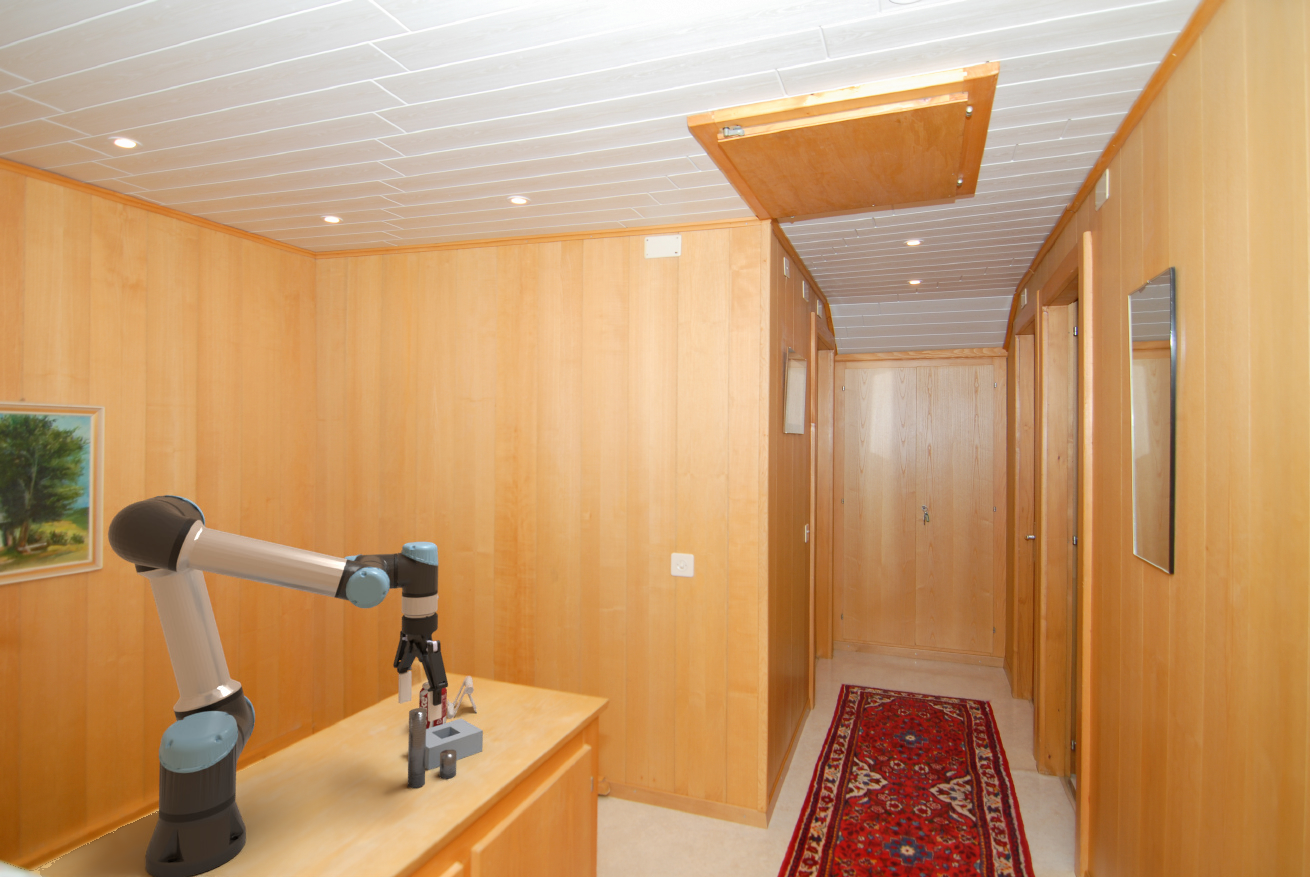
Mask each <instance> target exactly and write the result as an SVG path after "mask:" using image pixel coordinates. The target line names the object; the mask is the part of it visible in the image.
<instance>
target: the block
mask: <svg viewBox="0 0 1310 877" xmlns="http://www.w3.org/2000/svg"><path fill="white" fill-rule="evenodd" d="M483 731H484V730H482V729H481V728H480V727H478V726H475V725H474V724H472V723H470V722H468V721H467V720H465V719H463V718H458V719H455V720H451V721H449V722H448V721H447V722H446V723H445V724H441V725H438V726H435V727H432V728H428V729H426V757H425V770H427V771H431V770H434V769H436V768H440V753H441V752H442V751H444V750H449V749H451V750H455V751H456V752H457V755H456V761H458V760H462V759H465V758H466V757H469V756H473V755H476V754H478V753H481V752H483V745H484V743H483V738H484V737H483V735H484V732H483Z"/></svg>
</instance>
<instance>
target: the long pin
mask: <svg viewBox="0 0 1310 877" xmlns="http://www.w3.org/2000/svg"><path fill="white" fill-rule="evenodd" d="M407 748H408V750H407V788H410V789H419V788H422V787H423V786H425V784H426V768H425V757H426V709H424V708H419V707H418V708H412V709H410V710H409V712H408V747H407Z"/></svg>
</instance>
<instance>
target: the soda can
mask: <svg viewBox="0 0 1310 877" xmlns="http://www.w3.org/2000/svg"><path fill="white" fill-rule="evenodd" d="M429 688H430V686H429V683H428V681H426V682H424V683H423V684H422V688H421V689H420V690H419V695H418V696H419V700H418V701H419V702H418V703H419V706H418V708H424V709H426V729H428V728H432V727H435V726H438V725H441V724H445V723H447V701H448V698H447V697H448V689H447V687H446V688H442V708H441V718H439V719H436V720H433V721H428V689H429Z"/></svg>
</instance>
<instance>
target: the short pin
mask: <svg viewBox="0 0 1310 877" xmlns="http://www.w3.org/2000/svg"><path fill="white" fill-rule="evenodd" d="M456 755H457V752H456V751H455V750H451V749H449V750H444V751H442V752H441V753H440V766H439V772H438V774H439V775H438V776H439V778H440V779H441V780H450V779H453V778H455V777H456V776H457V760H456Z"/></svg>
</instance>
